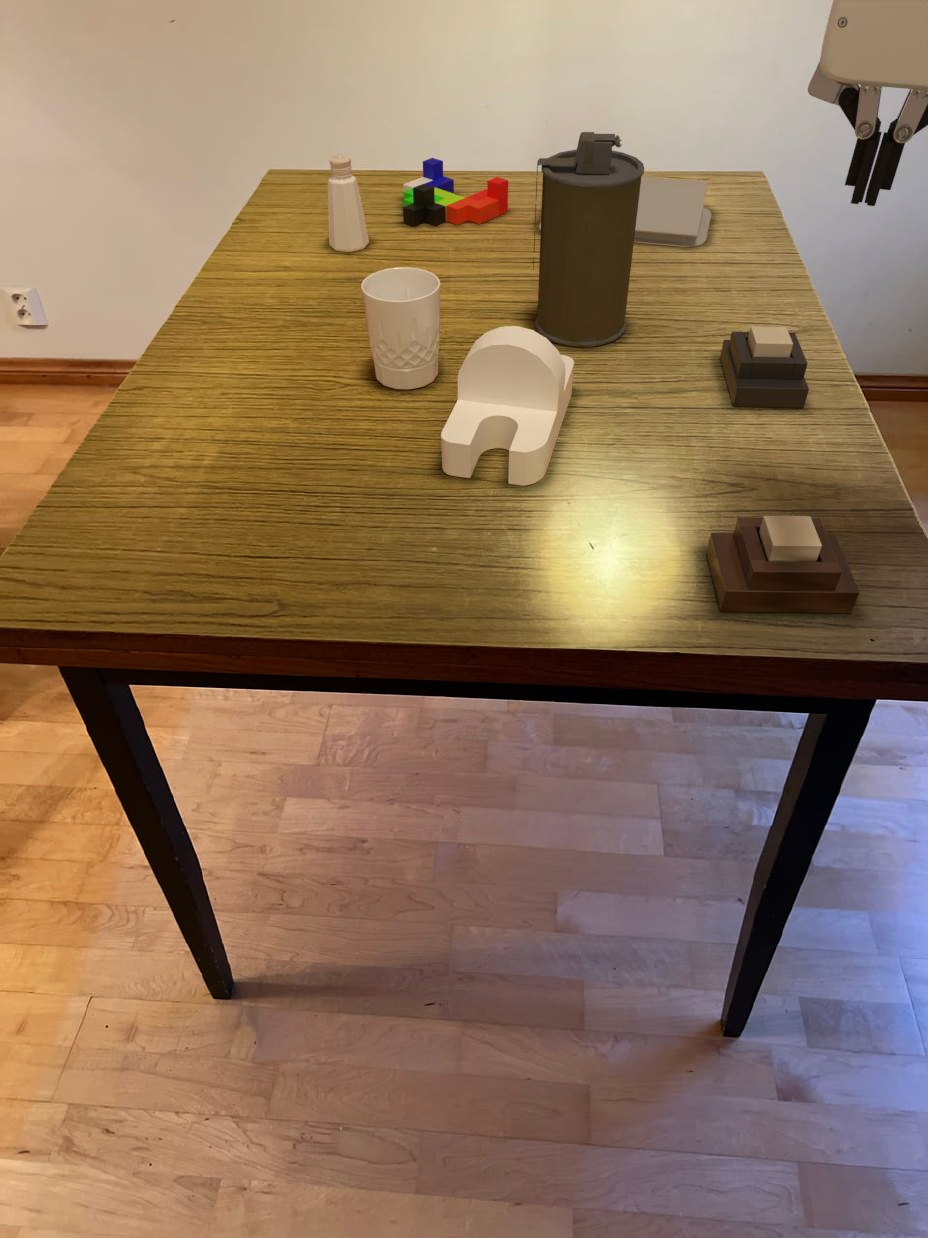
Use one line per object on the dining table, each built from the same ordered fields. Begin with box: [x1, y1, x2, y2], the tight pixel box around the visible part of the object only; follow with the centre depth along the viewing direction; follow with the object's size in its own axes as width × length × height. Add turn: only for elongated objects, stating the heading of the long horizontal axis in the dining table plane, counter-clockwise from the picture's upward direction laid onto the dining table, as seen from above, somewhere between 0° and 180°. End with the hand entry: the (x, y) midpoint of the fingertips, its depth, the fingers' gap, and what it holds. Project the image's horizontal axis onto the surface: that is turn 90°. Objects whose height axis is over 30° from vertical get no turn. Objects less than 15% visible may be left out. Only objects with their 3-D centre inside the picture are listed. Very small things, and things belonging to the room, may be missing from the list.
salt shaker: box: [327, 154, 370, 253], centre depth 116 cm, size 5×5×11 cm
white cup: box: [360, 266, 441, 390], centre depth 91 cm, size 8×8×10 cm
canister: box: [532, 131, 645, 348], centre depth 95 cm, size 11×10×20 cm
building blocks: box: [402, 157, 509, 227], centre depth 126 cm, size 15×13×4 cm
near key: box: [759, 515, 822, 562], centre depth 67 cm, size 4×4×2 cm
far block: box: [719, 331, 810, 409], centre depth 91 cm, size 10×7×4 cm
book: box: [538, 176, 712, 248], centre depth 123 cm, size 15×23×4 cm, turn 74°
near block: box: [706, 516, 860, 614], centre depth 69 cm, size 10×7×4 cm
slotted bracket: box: [440, 325, 575, 487], centre depth 83 cm, size 18×10×10 cm, turn 165°
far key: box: [747, 325, 793, 357], centre depth 89 cm, size 4×4×2 cm
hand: (864, 197), depth 61 cm, fingers closed
